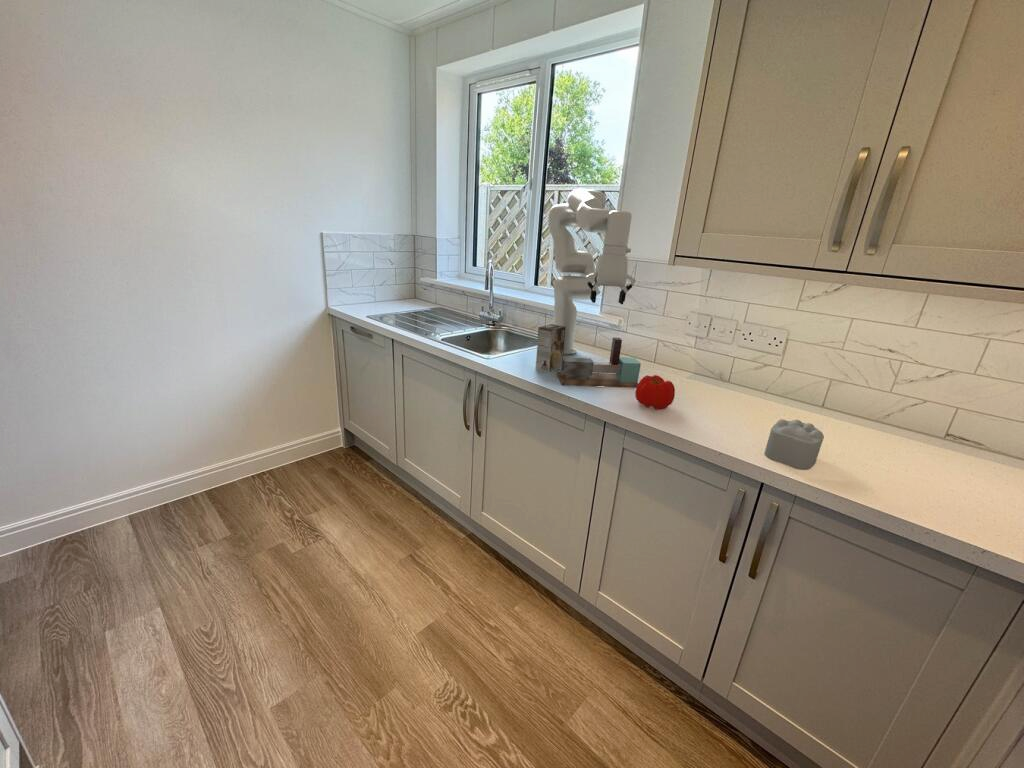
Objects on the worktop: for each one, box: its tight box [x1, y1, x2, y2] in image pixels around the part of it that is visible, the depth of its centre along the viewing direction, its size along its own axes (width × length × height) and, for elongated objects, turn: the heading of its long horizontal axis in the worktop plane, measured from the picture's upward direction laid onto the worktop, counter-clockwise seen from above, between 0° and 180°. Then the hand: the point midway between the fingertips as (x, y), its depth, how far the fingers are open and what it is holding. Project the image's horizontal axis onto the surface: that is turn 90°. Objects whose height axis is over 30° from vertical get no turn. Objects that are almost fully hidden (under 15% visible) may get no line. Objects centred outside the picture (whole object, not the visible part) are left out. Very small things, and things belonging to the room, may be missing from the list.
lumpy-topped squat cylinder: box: [764, 418, 825, 471], centre depth 109 cm, size 10×13×9 cm
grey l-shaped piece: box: [593, 337, 623, 374], centre depth 154 cm, size 16×3×12 cm, turn 93°
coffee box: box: [535, 323, 566, 374], centre depth 165 cm, size 9×6×16 cm
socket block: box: [614, 356, 641, 383], centre depth 156 cm, size 6×7×7 cm
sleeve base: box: [556, 356, 639, 389], centre depth 156 cm, size 27×12×7 cm, turn 93°
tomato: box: [635, 374, 676, 411], centre depth 136 cm, size 11×12×9 cm
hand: (606, 302), depth 153 cm, fingers open, 9 cm apart
